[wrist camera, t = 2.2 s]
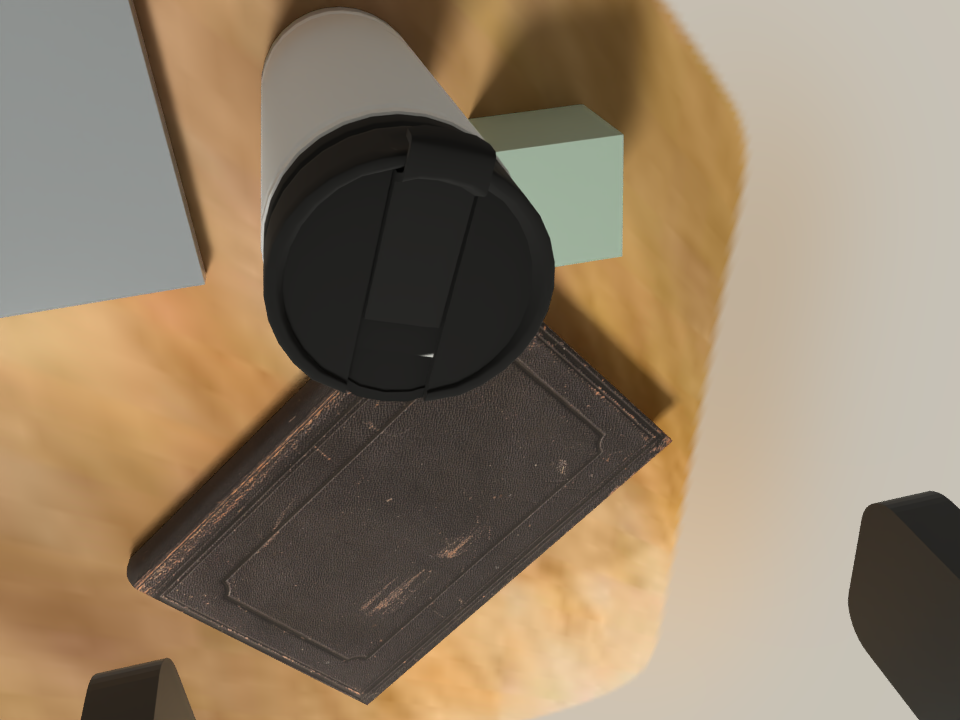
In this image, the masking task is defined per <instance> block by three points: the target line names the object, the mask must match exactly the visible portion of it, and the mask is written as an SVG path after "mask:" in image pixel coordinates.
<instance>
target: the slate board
mask: <svg viewBox="0 0 960 720" xmlns="http://www.w3.org/2000/svg"><path fill="white" fill-rule="evenodd" d="M205 280H206V272H205V268H204V264H203V261H202V257H201V253H200V249H199V246H198V242H197V238H196V235H195V231H194V227H193V223H192V220H191V216H190V212H189V208H188V205H187V201H186V197H185V193H184V190H183V186H182V182H181V178H180V175H179V171H178V167H177V163H176V160H175V156H174V152H173V149H172V145H171V141H170V137H169V134H168V130H167V126H166V122H165V119H164V115H163V111H162V107H161V104H160V100H159V96H158V92H157V89H156V85H155V81H154V78H153V74H152V70H151V66H150V63H149V59H148V55H147V51H146V48H145V44H144V40H143V36H142V33H141V29H140V25H139V21H138V18H137V14H136V10H135V7H134V3H133V0H0V318H3V317H9V316H15V315H21V314H27V313H33V312H39V311H45V310H52V309H58V308H64V307H70V306H76V305H82V304H88V303H94V302H100V301H106V300H112V299H118V298H125V297H131V296H137V295H143V294H149V293H155V292H161V291H167V290H173V289H179V288H185V287H191V286H198V285H204V284H205Z"/></svg>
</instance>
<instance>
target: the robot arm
mask: <svg viewBox="0 0 960 720" xmlns="http://www.w3.org/2000/svg"><path fill="white" fill-rule="evenodd" d="M848 606H849V613H850V617H851V621H852V624H853V627H854V630H855V632H856V634H857V636H858V638H859V640H860V642H861V644H862V646H863V647H864V648H865V650H866V651H867V653H868V654H869V655H870V657H871V658H872V659H873V661H874V662H875V663H876V665H877V666H878V667H879V668H880V670H881V671H882V672H883V674H884V675H885V676H886V678H887V679H888V680H889V681H890V683H891V684H892V685H893V687H894V688H895V689H896V690H897V692H898V693H899V694H900V696H901V697H902V698H903V700H904V701H905V702H906V704H907V705H908V706H909V707H910V709H911V710H912V711H913V713H914V714H915V715H916V717H917V718H918V719H919V720H960V509H959V508H958V507H957V506H956V505H955V504H954V503H952V502H951V501H950V500H949V499H948V498H946V497H945V496H944V495H942V494H940V493H937V492H934V491H928V492H923V493H919V494H914V495H910V496H905V497H901V498H896V499H892V500H888V501H883V502H878V503H874V504H871V505H869V506H868V507H867V508H866V509H865V511H864V513H863V516H862V521H861V526H860V532H859V538H858V544H857V550H856V555H855V561H854V566H853V572H852V578H851V583H850V589H849V597H848ZM81 720H196V719H195V717H194V714H193V711H192V709H191V706H190V704H189V701H188V698H187V696H186V693H185V690H184V688H183V685H182V683H181V680H180V677H179V675H178V672H177V670H176V667H175V665H174V663H173V662H172V660H171V659H169V658H165V659H160V660H156V661H151V662H147V663H142V664H138V665H133V666H129V667H124V668H120V669H115V670H111V671H106V672H102V673H97V674H95V675H94V676H93V677H92V678H91V680H90V683H89V685H88V689H87V693H86V697H85V702H84V707H83V712H82V716H81Z"/></svg>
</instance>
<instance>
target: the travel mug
mask: <svg viewBox="0 0 960 720" xmlns="http://www.w3.org/2000/svg"><path fill="white" fill-rule="evenodd" d="M261 252H262V258H263V263H264V265H263V286H264V301H265V306H266V311H267V316H268V321H269V323H270V325H271V328H272V330H273V332H274V334H275V337H276V339H277V341H278V343H279V345H280V346H281V347H282V349H283V350H284V351H285V353H286V354H287V355H288V357H289V358H290V359H291V361H292V362H293V363H294V364H295V365H296V366H297V367H298V368H299V369H301V370H302V371H303V372H304V373H305V374H306V375H307V376H309V377H310V378H311V379H312V380H314V381H317V382H319V383H321V384H324V385H326V386H329V387H331V388H333V389H336V390H338V391H340V392H343V393H346V390H347V391H349V392H351V393H352V394H354V395H355V396H358V397H363V398H368V399H373V400H379V401H399V402H408V401H412V400H415V399H418V398H421V397H423V399H424V402H426V401H431V400H437V399H443V398H448V397H454V396H460V395H462V394H464V393H466V392H468V391H470V390H473V389H475V388H477V387H479V386H481V385H483V384H485V383H486V382H488V381H489V380H491V379H492V378H493V377H495V376H496V375H498V374H499V373H501V372H502V371H504V370H505V369H506V368H507V367H508V366H509V365H510V364H511V363H512V362H513V361H514V360H515V359H517V358H518V357H519V356H520V355H521V354H522V353H523V351H524V350H525V349H526V347H527V346H528V345H529V343H530V342H531V341H532V339H533V338H534V337H535V335H536V334H537V332H538V330H539V328H540V326H541V324H542V322H543V320H544V318H545V316H546V314H547V312H548V309H549V305H550V301H551V297H552V293H553V289H554V273H555V261H554V255H553V250H552V245H551V240H550V237H549V234H548V232H547V230H546V228H545V225H544V223H543V221H542V219H541V216H540V215H539V213H538V212H537V211H536V209H535V208H534V207H533V205H532V204H531V203H530V201H529V200H528V199H527V197H526V196H525V195H524V193H523V192H522V191H521V190H520V188H519V187H518V186H517V185H516V183H515V182H514V181H513V179H512V178H511V176H510V173H509V171H508V170H507V169H506V167H505V166H504V165H503V163H502V162H501V161H500V159H499V158H498V157H497V155H496V151H495V150H494V149H493V147H492V146H491V145H490V144H489V143H488V142H486V141H485V140H484V139H483V138H482V136H481V135H480V134H479V133H478V131H477V130H476V129H475V128H474V127H473V125H472V124H471V123H470V122H469V120H468V119H467V118H466V117H465V115H464V114H463V113H462V112H461V110H460V109H459V108H458V107H457V105H456V104H455V103H454V102H453V100H452V99H451V98H450V97H449V95H448V94H447V93H446V92H445V90H444V89H443V88H442V87H441V85H440V84H439V83H438V82H437V80H436V79H435V78H434V77H433V75H432V74H431V73H430V72H429V71H428V69H427V68H426V67H425V66H424V64H423V63H422V62H421V61H420V59H419V58H418V57H417V56H416V54H415V53H414V52H413V51H412V49H411V48H410V47H409V46H408V44H407V43H406V42H405V41H404V39H403V38H402V37H401V36H400V34H399V33H398V32H397V31H395V30H394V29H393V28H392V27H391V26H390V25H389V24H388V23H386V22H385V21H383V20H381V19H380V18H378V17H376V16H375V15H373V14H370V13H367V12H365V11H362V10H359V9H354V8H347V7H331V8H323V9H319V10H316V11H312V12H309V13H307V14H305V15H303V16H302V17H300V18H298V19H296V20H294V21H293V22H292V23H291V24H290V25H289V26H287V27H286V28H285V29H284V30H283V31H282V32H281V33H280V35H279V36H278V37H277V39H276V40H275V41H274V43H273V44H272V46H271V48H270V50H269V52H268V54H267V57H266V59H265V63H264V67H263V71H262V83H261Z"/></svg>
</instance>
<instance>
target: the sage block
mask: <svg viewBox="0 0 960 720" xmlns="http://www.w3.org/2000/svg"><path fill="white" fill-rule="evenodd" d="M468 120H469V122H470V123H471V124H472V125H473V127H474V128H475V129H476V130H477V131H478V133H479V134H480V135H481V136H482V138H483V139H484V140H485V141H486V142H488V143H489V144H490V145H491V146H492V147H493V149H494V150H495V151H496V155H497V157H498V158H499V159H500V161H501V162H502V163H503V165H504V166H505V167H506V169H507V170H508V171H509V173H510V176H511V178H512V179H513V181H514V182H515V183H516V185H517V186H518V187H519V188H520V190H521V191H522V192H523V193H524V195H525V196H526V197H527V199H528V200H529V201H530V203H531V204H532V205H533V207H534V208H535V209H536V211H537V212H538V213H539V215H540V216H541V219H542V221H543V223H544V225H545V228H546V230H547V232H548V234H549V237H550V240H551V245H552V250H553V255H554V261H555V267H558V266H564V265H570V264H577V263H583V262H589V261H595V260H602V259H608V258H614V257H621V256H622V228H623V138H624V135H623V134H622V133H621V132H619V131H618V130H617V129H615V128H614V127H613V126H611V125H610V124H609V123H607V122H606V121H605V120H603V119H602V118H601V117H599V116H598V115H597V114H595V113H594V112H593V111H591V110H590V109H589V108H587V107H586V106H585V105H583V104H580V105H572V106H565V107H557V108H549V109H542V110H534V111H526V112H518V113H511V114H503V115H495V116H488V117H480V118H472V119H468Z"/></svg>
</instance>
